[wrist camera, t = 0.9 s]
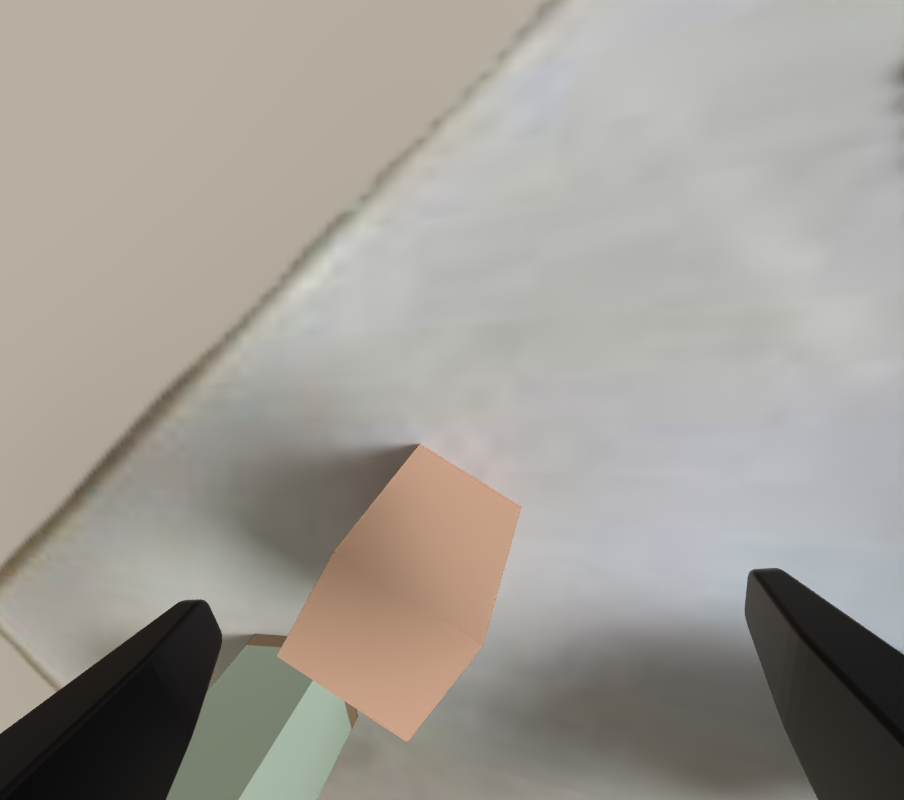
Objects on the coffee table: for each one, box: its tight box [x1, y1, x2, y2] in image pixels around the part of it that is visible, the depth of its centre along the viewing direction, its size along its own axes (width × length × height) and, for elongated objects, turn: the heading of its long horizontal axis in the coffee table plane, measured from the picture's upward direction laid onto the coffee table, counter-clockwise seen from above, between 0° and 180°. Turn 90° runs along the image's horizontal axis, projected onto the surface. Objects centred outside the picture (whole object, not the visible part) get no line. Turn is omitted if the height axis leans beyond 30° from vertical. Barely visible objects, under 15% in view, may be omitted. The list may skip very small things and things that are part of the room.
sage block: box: [166, 634, 358, 800], centre depth 24 cm, size 5×5×10 cm
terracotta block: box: [277, 444, 521, 742], centre depth 20 cm, size 5×5×8 cm
